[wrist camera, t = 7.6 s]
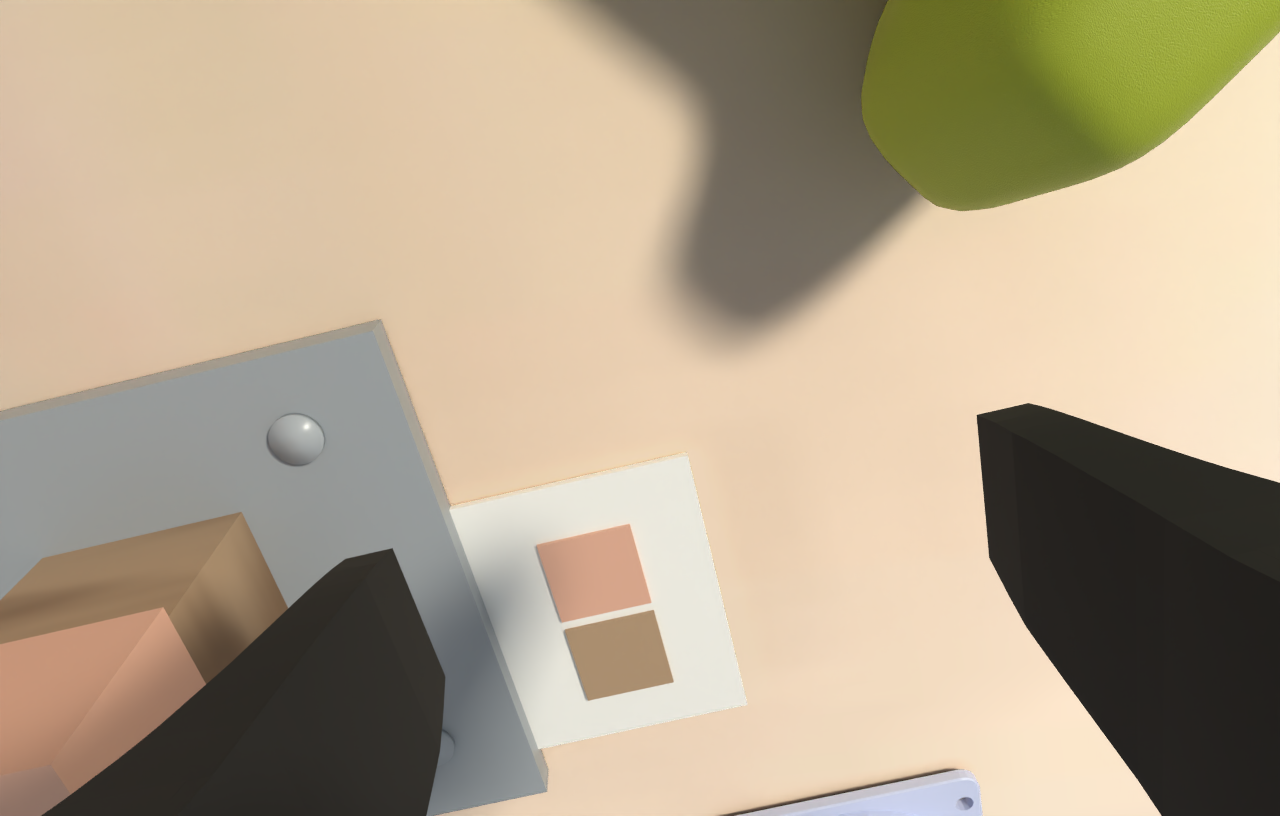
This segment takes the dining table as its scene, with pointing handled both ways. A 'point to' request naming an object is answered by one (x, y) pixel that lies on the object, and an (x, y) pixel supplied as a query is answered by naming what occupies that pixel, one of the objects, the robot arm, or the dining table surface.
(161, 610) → the terracotta block
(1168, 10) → the dumbbell
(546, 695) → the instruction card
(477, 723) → the build plate
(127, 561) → the walnut block
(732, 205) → the dining table surface
